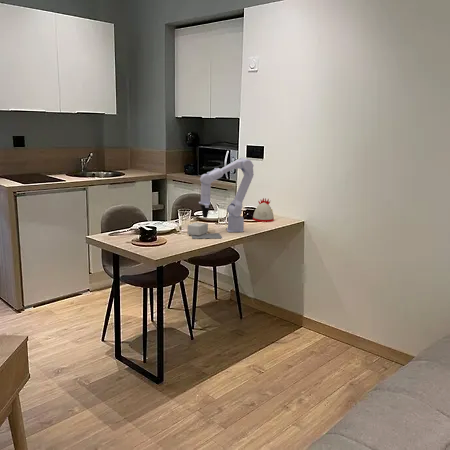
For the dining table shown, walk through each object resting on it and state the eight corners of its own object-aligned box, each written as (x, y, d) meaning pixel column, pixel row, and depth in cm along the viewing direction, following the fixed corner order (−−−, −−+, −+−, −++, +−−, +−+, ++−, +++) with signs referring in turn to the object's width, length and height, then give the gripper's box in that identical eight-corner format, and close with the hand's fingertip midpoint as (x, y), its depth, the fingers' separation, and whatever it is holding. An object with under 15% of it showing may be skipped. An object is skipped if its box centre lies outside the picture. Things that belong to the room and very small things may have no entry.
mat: (219, 233, 280) (219, 233, 280) (222, 238, 270) (222, 237, 270) (190, 234, 277) (190, 233, 277) (192, 239, 267) (192, 238, 267)
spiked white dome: (271, 223, 312) (272, 200, 308) (250, 221, 315) (252, 198, 312) (275, 218, 325) (276, 197, 321) (255, 216, 328) (256, 195, 325)
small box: (196, 231, 284) (187, 234, 275) (196, 222, 283) (187, 224, 274) (208, 232, 280) (199, 235, 271) (208, 223, 279) (199, 226, 270)
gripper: (197, 192, 284) (196, 214, 287) (200, 197, 270) (199, 220, 273) (208, 192, 285) (208, 214, 288) (212, 197, 271) (212, 220, 275)
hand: (205, 217), depth 281 cm, fingers closed
